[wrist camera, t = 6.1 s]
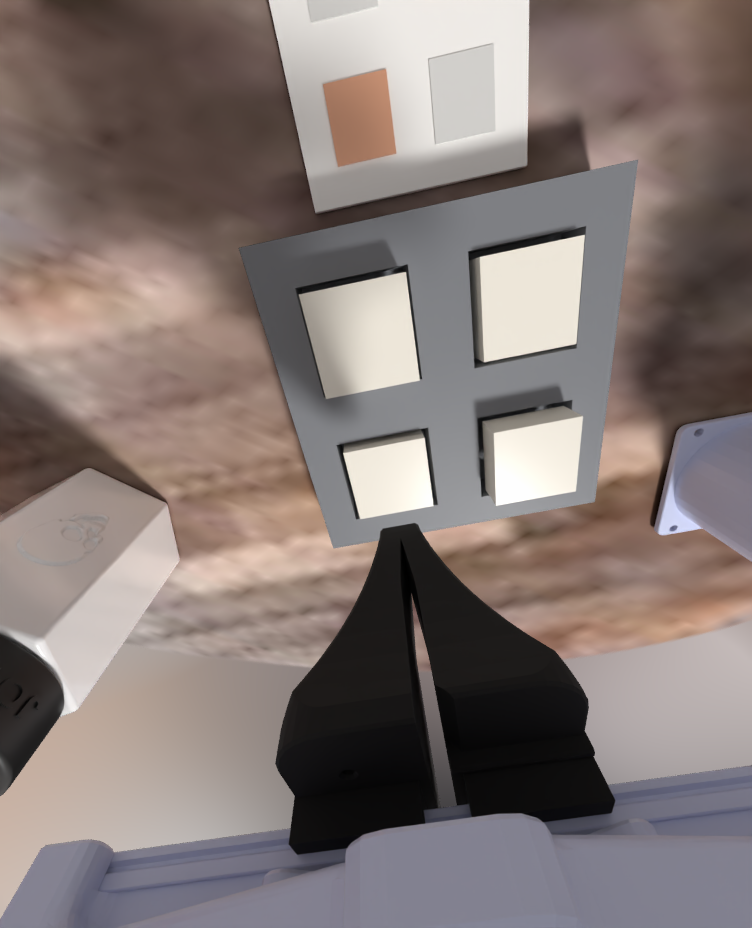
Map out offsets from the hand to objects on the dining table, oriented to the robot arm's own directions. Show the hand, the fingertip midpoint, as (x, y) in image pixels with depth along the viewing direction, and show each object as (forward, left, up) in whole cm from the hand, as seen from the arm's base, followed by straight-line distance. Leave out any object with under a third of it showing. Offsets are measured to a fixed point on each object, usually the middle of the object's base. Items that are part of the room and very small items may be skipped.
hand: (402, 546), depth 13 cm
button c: (0, -7, -6) cm, 9 cm away
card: (-3, -17, -8) cm, 19 cm away
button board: (-3, -4, -8) cm, 9 cm away
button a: (-7, -7, -7) cm, 12 cm away
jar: (+18, +1, -8) cm, 20 cm away
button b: (-7, 0, -6) cm, 9 cm away
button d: (0, 0, -7) cm, 7 cm away
